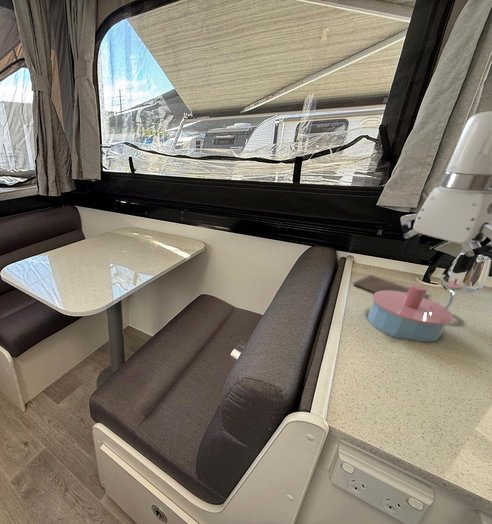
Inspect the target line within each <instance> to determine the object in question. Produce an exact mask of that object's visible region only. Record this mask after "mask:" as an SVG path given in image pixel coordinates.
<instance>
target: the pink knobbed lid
mask: <svg viewBox="0 0 492 524" xmlns="http://www.w3.org/2000/svg"><path fill="white" fill-rule="evenodd" d="M408 289H409V290H408V292H407V293H405V292H399V291H390V290H384V291H378V292H376V293H373V296H372V300H373V301H375V303H376V304H377V305H379V306H380V307H381V308H383V309H385V310H386V311H388V312H390V313H392V314H395V315H397V316H400V317H402V318H405V319H408V320H412V321H415V322H420V323H425V324H432V325H444V324H447V325H449V324H450V323H452V321H454V315H453V314H452V313H451V311H450V310H449V309H448V310H447V309H446V308H445V307H444V306H443V305H441V304H439V303H437V302H436V301H433V300H430V299H428V298H424V296H425V295H426V294H427V291H428V288H427V287H425V286H423V285H420V284H414V283H413V284H410V286H409V287H408Z"/></svg>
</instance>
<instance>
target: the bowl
mask: <svg viewBox="0 0 492 524" xmlns="http://www.w3.org/2000/svg"><path fill="white" fill-rule="evenodd" d="M367 319H368V322H369V323H370V324H371V325H372V326H373V327H375V328H376V329H378V330H379V331H381V332H382V333H384V334H386V335H388V336H390V337H392V338H395V339H398V340H401V341H402V340H403V339H408V340H412V341H418V342H423V343H425V342H436V341H437V340H438V339H439V338H440V337H441V335H443V334H442V333H443V332H444V331H445V328H446V326H447V325H448V324H444V325H432V324H425V323H420V322H415V321H412V320H408V319H405V318H402V317H400V316H397V315H395V314H392V313H390V312H388V311H386V310H385V309H383V308H381V307H380V306H379V305H377V304H376V303H375V301H374V300H373V301H372V304H371V306H370V307H369V311H368V314H367Z"/></svg>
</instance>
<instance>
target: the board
mask: <svg viewBox="0 0 492 524" xmlns="http://www.w3.org/2000/svg"><path fill="white" fill-rule="evenodd" d="M353 286H354V287H355V288H359V289H361V290H364V291H367V292H368V293H372V294H374V293H376V292H378V291H384V290H390V291H399V292H405V293H407V292H408V290H409V288H407V287H403V286H400V285H397V284H394V283H392V282H389V281H386V280H383V279H380V278H377V277H374V276H370V277H367V278H364V279H362V280H360V281H357V282H355V283H354V284H353ZM424 298H426V299H428V295H426V294H425V296H424Z"/></svg>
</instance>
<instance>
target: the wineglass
mask: <svg viewBox="0 0 492 524" xmlns="http://www.w3.org/2000/svg"><path fill="white" fill-rule="evenodd" d="M462 254H465V252H459V253H458V254H457V255H456V256H455V258H453V260H452V261H451V262H450V263H449V264H448V266H447V267H445V269H444V270H443V272H442V274H441V276H440V277H439V278H440V279H439V281H440V285H441V287H442V288H443V289H444V290H445V291H446V292H447V293H448V294H450V296H449V300H448V301H447V303H446V305H445V307H444V308H446V309H447V310H448V311H449V309H450V307H451V306H452V303H453V302H454V300H455V299H457V297H459V296H460V297H463V296H469V295H474V294H476V293H478V292H480V291H481V290H482V289H483V288H484V287H485V286H486V283H487V280H488V278H489V274H490V268H491V264H492V258H490V257H489V256H485V255H484V254H482V255H478V257H477V259H476V260H475V262H474V264H473V266H472V268H471V269H470V270H468V271H466V272H463V273H453V272H452V270H453V268H454V266H455V264H456V262H457V260H458V258H459V256H460V255H462Z"/></svg>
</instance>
